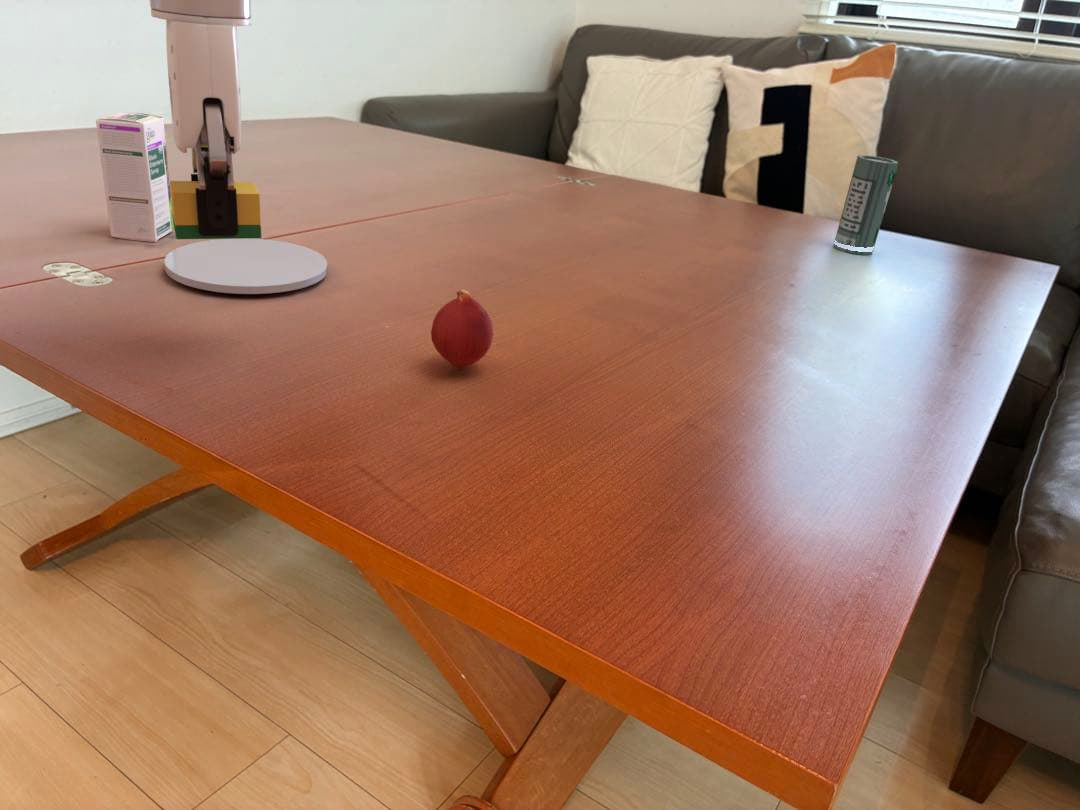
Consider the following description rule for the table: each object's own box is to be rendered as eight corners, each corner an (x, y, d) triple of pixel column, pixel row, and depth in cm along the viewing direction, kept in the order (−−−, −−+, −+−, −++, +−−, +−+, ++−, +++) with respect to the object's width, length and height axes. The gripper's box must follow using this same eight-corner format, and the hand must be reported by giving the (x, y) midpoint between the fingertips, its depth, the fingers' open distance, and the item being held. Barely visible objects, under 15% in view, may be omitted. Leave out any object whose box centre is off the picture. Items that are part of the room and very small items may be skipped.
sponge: (176, 239, 73) (172, 192, 71) (173, 225, 76) (169, 180, 74) (261, 238, 75) (259, 193, 74) (255, 225, 79) (253, 181, 77)
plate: (169, 302, 89) (167, 288, 88) (162, 250, 103) (160, 238, 103) (341, 296, 96) (341, 283, 96) (312, 248, 111) (312, 237, 110)
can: (878, 253, 143) (905, 163, 136) (854, 255, 140) (881, 163, 133) (850, 243, 147) (875, 155, 141) (826, 245, 144) (850, 155, 138)
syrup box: (156, 243, 106) (145, 122, 99) (108, 237, 105) (94, 116, 99) (174, 231, 111) (165, 115, 104) (129, 226, 111) (117, 110, 104)
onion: (463, 351, 86) (469, 276, 82) (501, 372, 82) (509, 294, 79) (417, 363, 82) (421, 285, 78) (455, 386, 78) (461, 304, 75)
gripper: (146, -10, 73) (165, 202, 81) (153, 3, 59) (175, 256, 67) (238, -1, 76) (248, 203, 84) (265, 13, 62) (273, 254, 70)
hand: (215, 224), depth 75 cm, fingers closed on sponge, 4 cm apart
